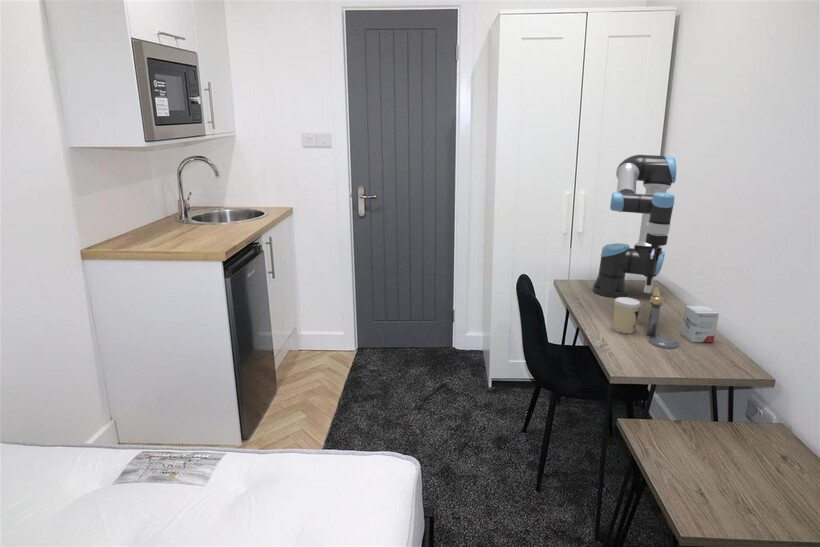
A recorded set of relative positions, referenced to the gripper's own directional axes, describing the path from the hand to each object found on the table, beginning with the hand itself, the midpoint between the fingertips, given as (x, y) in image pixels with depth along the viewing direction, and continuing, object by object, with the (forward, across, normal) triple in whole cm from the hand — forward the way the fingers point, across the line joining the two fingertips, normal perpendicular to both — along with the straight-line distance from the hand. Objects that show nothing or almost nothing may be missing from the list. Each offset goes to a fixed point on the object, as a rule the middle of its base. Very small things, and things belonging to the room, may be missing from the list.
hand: (647, 292), depth 215 cm
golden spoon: (+1, +5, +4) cm, 6 cm away
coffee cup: (+14, +11, -5) cm, 18 cm away
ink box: (+14, +3, +20) cm, 24 cm away
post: (+14, +11, +5) cm, 18 cm away
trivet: (+14, +16, +10) cm, 23 cm away
